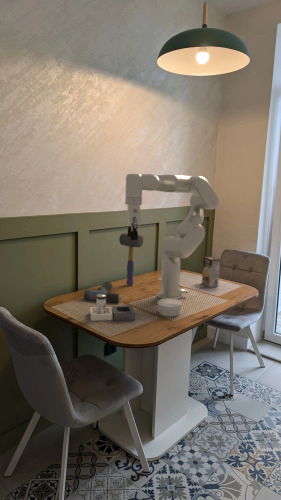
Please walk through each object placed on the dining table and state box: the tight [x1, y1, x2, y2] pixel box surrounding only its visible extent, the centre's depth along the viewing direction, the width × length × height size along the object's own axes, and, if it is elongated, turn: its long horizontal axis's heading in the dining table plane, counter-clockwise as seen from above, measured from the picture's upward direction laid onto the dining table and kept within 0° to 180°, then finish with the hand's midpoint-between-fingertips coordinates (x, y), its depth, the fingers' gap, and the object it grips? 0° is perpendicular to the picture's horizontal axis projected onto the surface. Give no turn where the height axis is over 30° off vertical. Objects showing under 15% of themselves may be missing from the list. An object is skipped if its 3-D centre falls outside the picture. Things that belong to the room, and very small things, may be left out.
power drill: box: [83, 281, 123, 303], centre depth 183 cm, size 5×19×20 cm
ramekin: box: [156, 298, 183, 317], centre depth 163 cm, size 11×11×5 cm
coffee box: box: [201, 256, 221, 288], centre depth 211 cm, size 9×6×16 cm
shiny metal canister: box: [96, 294, 107, 314], centre depth 155 cm, size 4×4×9 cm
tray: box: [89, 306, 113, 322], centre depth 156 cm, size 9×9×3 cm
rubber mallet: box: [119, 232, 144, 287], centre depth 201 cm, size 12×8×30 cm, turn 58°
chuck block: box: [111, 305, 136, 322], centre depth 157 cm, size 9×9×3 cm
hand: (132, 238), depth 167 cm, fingers open, 9 cm apart
